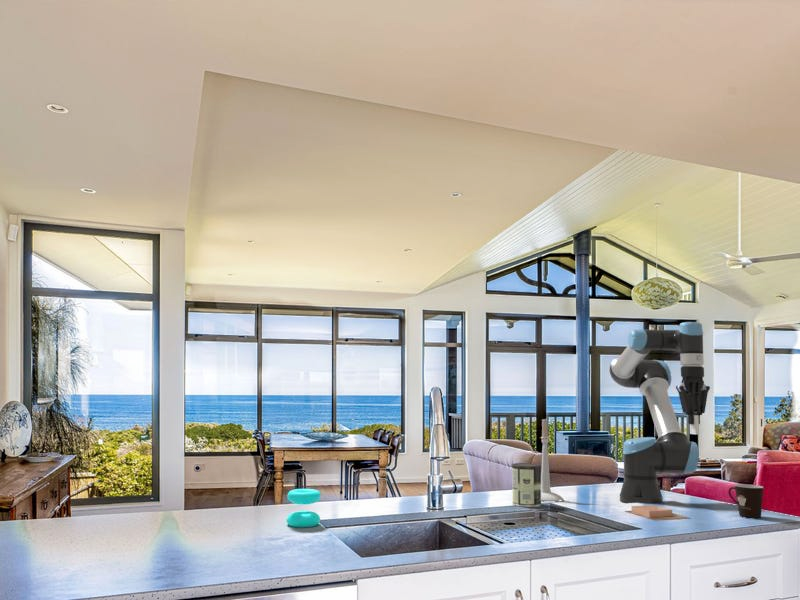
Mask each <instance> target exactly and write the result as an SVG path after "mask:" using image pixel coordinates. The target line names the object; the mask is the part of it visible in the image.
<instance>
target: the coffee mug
mask: <svg viewBox="0 0 800 600" xmlns="http://www.w3.org/2000/svg"><path fill="white" fill-rule="evenodd" d="M732 490H734V491H735V496H736V499H735V498H734V497H733V496H732V494H731V491H732ZM728 495H729V497H730V499H732V501H733V502H734V503H735V504H736V505H737V507H738V508H737V510H738V515H740V516H742V517H741V518H743V517H746V518H745V519H750V518H756V519H757V520H758V518H760V519H762V508H763V495H764V486H762V485H759V484H758V485H755V484H747V483H746V484H745V483H742V484H741V483H739V484H734V486H733V487H732V486H731V487H730V488H728ZM740 516H739V517H740ZM756 519H755V520H756Z"/></svg>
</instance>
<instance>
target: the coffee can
mask: <svg viewBox="0 0 800 600" xmlns="http://www.w3.org/2000/svg"><path fill="white" fill-rule="evenodd" d="M511 470H512V472H511V476H512V477H511V479H512V480H511V484H512V485H511V488H512V489H511V490H512V492H511V493H512V504H511V505H513V506H515V505H516V506H515V507H521V508H539V507H541V506H542V502H541V470H542V464H538V463H532V462H530V463H529V462H518V463H512V464H511Z"/></svg>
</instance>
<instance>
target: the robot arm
mask: <svg viewBox="0 0 800 600" xmlns="http://www.w3.org/2000/svg"><path fill="white" fill-rule="evenodd" d="M678 327H679V329H642V328H641V329H640V328H639V329H631V330H630V331H629V333H628V336H627V343H628V345H627V347H625V349H624V350H623V352H622V353H621V354H620V356H617V357H615V358H614V359H613V360H612V362H611V363H610V366H609V373H610V374H609V375H610V377H611V379H612V380H613V381H614V382H615V383H616V384H617V385H619V386H622V387H623V388H629V389H632V388H633V389H636V388H637V389H639V392H640V394H641V395H643V396H645V399H646V401H647V404H648V408H649V412H650V415H651V418H652V421H653V424H654V427H655V430H656V434H657V437H658V438H657V439H656V437H653V436H646V437H644V436H643V437H634V438H630V439H627V440H625V441H624V442H623V448H622V449H623V450H622V454H623V482H622V484H621V485H622V487H621V490H620V492H619V501H620V502H621V503H626V504H661V503H663V502H664V500H663V499H664V498H663V495H662V491H661V489H660V485H659V482H658V474H676V475H677V474H682V475H687V474H694V473H695V472H696V470H697V468H698V465H699V459H700V458H699V457H700V454H699V448H698V447H699V446H698V444H697V443H696V442H694V441H690V440H689V438H688V436H687V434H685V433H684V432H682V429H681V427H680V424H679V422H678V419H677V416H676V412H675V410H674V407H673V404H672V401H671V399H670V395H669V393H668V390H669V388H670V386H671V383H672V372H671V369H670V366H669V365H668V364H667V363H666V362H665V361H664V360H658V359H651V360H649V359H648V360H645V359H644V358H645V357H647V355H649V353H650V352H651V351H674V352H680V353H679V354H680V356H679V357H680V358H679V361H680V362H679V363H680V366H681V367H680V377H681V378H682V379H681V383H680V384H679V385H675V388H676V391H677V392H678V396H679V400H680V405H681V411H682V413H683V414H685V415H687V420H688V421H687V422H688V425H689V434H690V435H700V425H701V416H703V414H705V412H706V407H707V401H708V400H707V399H708V393H709V391H710V389H711V387H710V386H709V385H706V384H705V382H704V379H703V378H704V377H705V367H703V366H704V365H705V363H704V362H705V361H704V338H703V337H704V331H703V324H702V323H701V322H699V321H684V322H681V323H680V324H679V326H678Z"/></svg>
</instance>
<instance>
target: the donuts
mask: <svg viewBox="0 0 800 600" xmlns="http://www.w3.org/2000/svg"><path fill="white" fill-rule="evenodd" d="M286 497H287V499H288V501H290V503H293V504H296V505H311V504H315V503H317V502H319V501H320V499H321V497H322V494H321V492H320V491H319V490H318V489H313V488H296V489H292V490H289V492H288V493H287V495H286ZM320 522H321V517H320V515H319V514H318V513H316V512H314V511H309V510H300V511H299V510H298V511H293V512H291V513H290V514H288V516H287V518H286V523H287V524H288V526H290V527H294V528H312V527H315V526H318V525H319V524H320Z"/></svg>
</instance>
